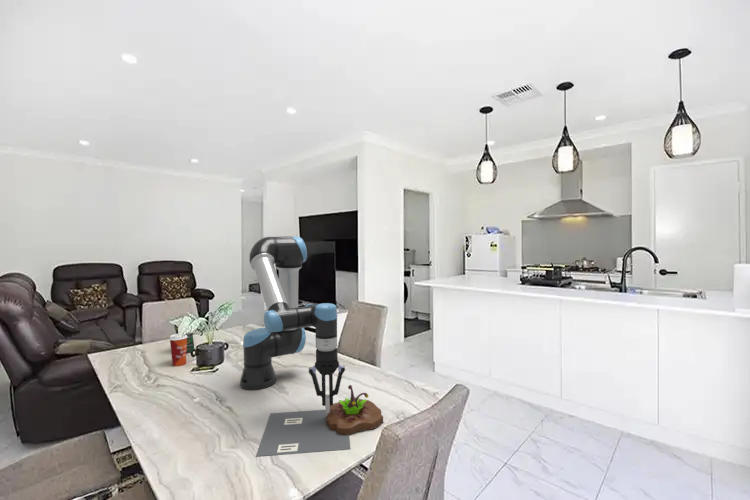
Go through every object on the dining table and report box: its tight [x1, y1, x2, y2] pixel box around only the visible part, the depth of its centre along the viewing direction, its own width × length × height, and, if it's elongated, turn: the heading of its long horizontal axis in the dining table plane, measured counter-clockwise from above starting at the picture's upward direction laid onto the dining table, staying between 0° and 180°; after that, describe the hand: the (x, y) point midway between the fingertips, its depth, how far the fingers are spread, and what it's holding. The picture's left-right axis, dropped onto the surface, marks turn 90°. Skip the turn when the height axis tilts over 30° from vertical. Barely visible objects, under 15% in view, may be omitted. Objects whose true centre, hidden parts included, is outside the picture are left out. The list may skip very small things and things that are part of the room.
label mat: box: [255, 409, 351, 458], centre depth 122 cm, size 28×26×1 cm
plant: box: [326, 384, 384, 435], centre depth 129 cm, size 20×20×11 cm
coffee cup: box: [169, 333, 188, 367], centre depth 186 cm, size 8×8×15 cm
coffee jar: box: [173, 324, 195, 354], centre depth 205 cm, size 10×8×19 cm
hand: (327, 413), depth 129 cm, fingers closed
